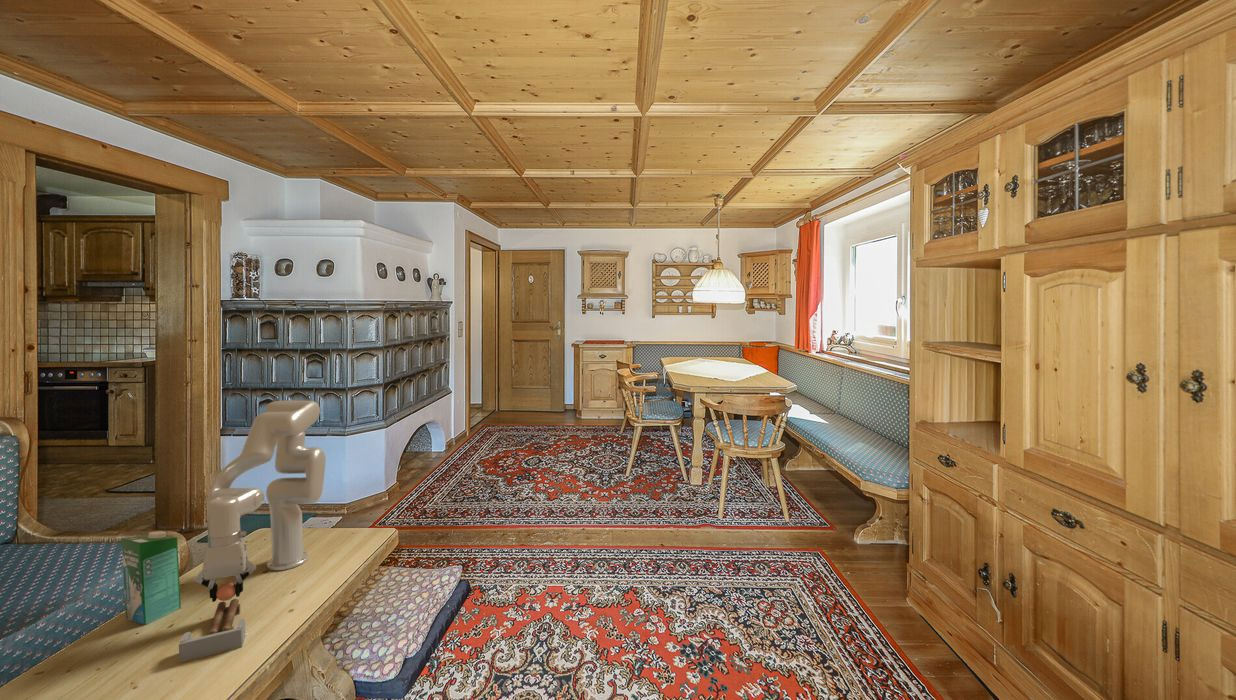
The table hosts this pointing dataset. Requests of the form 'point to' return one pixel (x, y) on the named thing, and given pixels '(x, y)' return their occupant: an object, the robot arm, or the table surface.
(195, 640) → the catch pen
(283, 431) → the robot arm
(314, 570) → the table surface
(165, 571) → the milk carton
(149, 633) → the table surface
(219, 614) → the brown piece
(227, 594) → the ball
